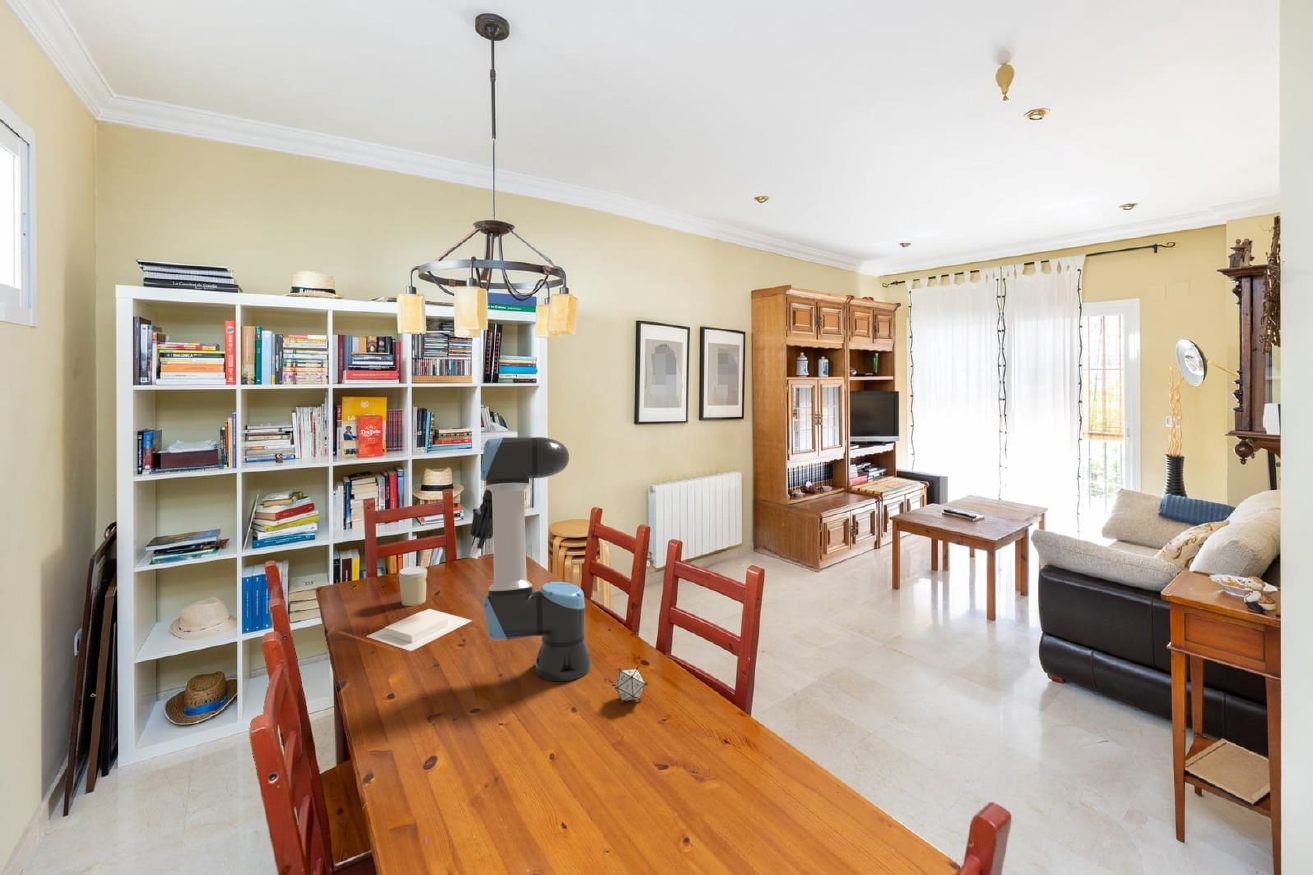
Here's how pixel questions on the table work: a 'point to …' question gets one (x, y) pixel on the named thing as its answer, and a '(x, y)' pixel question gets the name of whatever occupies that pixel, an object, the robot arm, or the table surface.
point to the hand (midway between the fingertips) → (473, 557)
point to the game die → (629, 684)
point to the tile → (416, 626)
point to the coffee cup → (413, 585)
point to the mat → (453, 624)
